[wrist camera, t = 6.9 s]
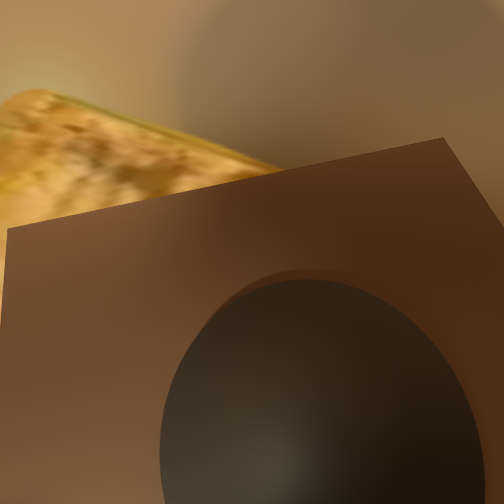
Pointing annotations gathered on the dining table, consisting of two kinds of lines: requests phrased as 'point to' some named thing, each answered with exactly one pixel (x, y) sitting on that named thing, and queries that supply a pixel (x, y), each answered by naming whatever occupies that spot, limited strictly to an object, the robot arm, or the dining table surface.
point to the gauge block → (261, 343)
